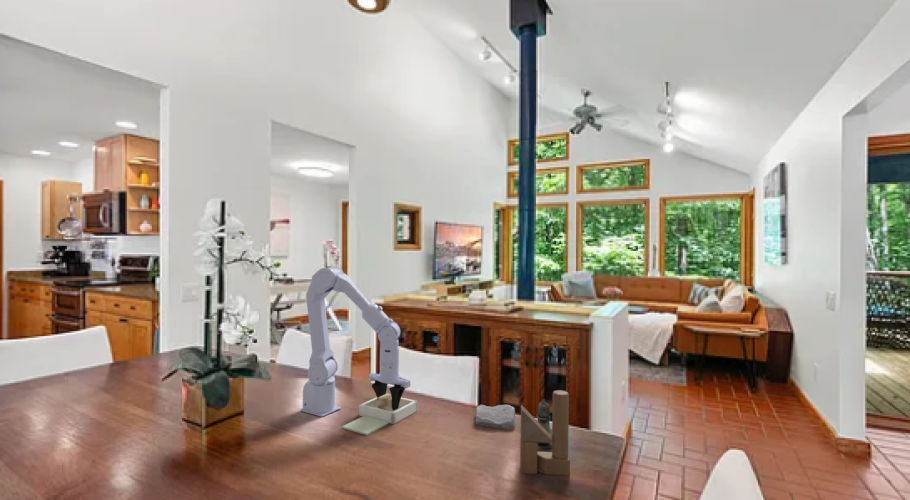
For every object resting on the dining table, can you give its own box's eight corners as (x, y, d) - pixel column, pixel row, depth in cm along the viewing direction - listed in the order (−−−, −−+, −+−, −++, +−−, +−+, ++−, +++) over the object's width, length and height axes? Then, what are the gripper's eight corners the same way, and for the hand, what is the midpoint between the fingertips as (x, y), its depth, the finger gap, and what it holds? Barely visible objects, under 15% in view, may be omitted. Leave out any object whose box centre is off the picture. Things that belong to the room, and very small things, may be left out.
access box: (358, 415, 127) (359, 405, 127) (384, 402, 137) (384, 393, 137) (393, 424, 120) (393, 413, 121) (417, 410, 131) (417, 401, 131)
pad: (342, 428, 117) (342, 426, 117) (364, 417, 125) (364, 415, 125) (367, 435, 113) (367, 433, 113) (388, 423, 121) (388, 421, 121)
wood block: (378, 413, 128) (378, 397, 128) (387, 409, 132) (387, 393, 132) (389, 416, 126) (390, 400, 126) (398, 412, 130) (399, 395, 130)
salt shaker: (541, 452, 104) (542, 404, 104) (527, 443, 110) (527, 396, 110) (559, 448, 107) (560, 400, 107) (544, 438, 112) (545, 393, 112)
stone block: (517, 436, 118) (515, 415, 128) (516, 420, 117) (514, 401, 127) (474, 436, 119) (475, 415, 129) (474, 420, 118) (475, 401, 128)
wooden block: (520, 465, 98) (520, 388, 98) (567, 468, 97) (568, 389, 97) (521, 474, 94) (522, 393, 94) (570, 476, 93) (571, 395, 93)
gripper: (416, 363, 129) (415, 407, 129) (379, 357, 136) (378, 399, 136) (402, 368, 123) (402, 415, 123) (364, 361, 130) (363, 406, 130)
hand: (388, 407), depth 129 cm, fingers closed on wood block, 4 cm apart
